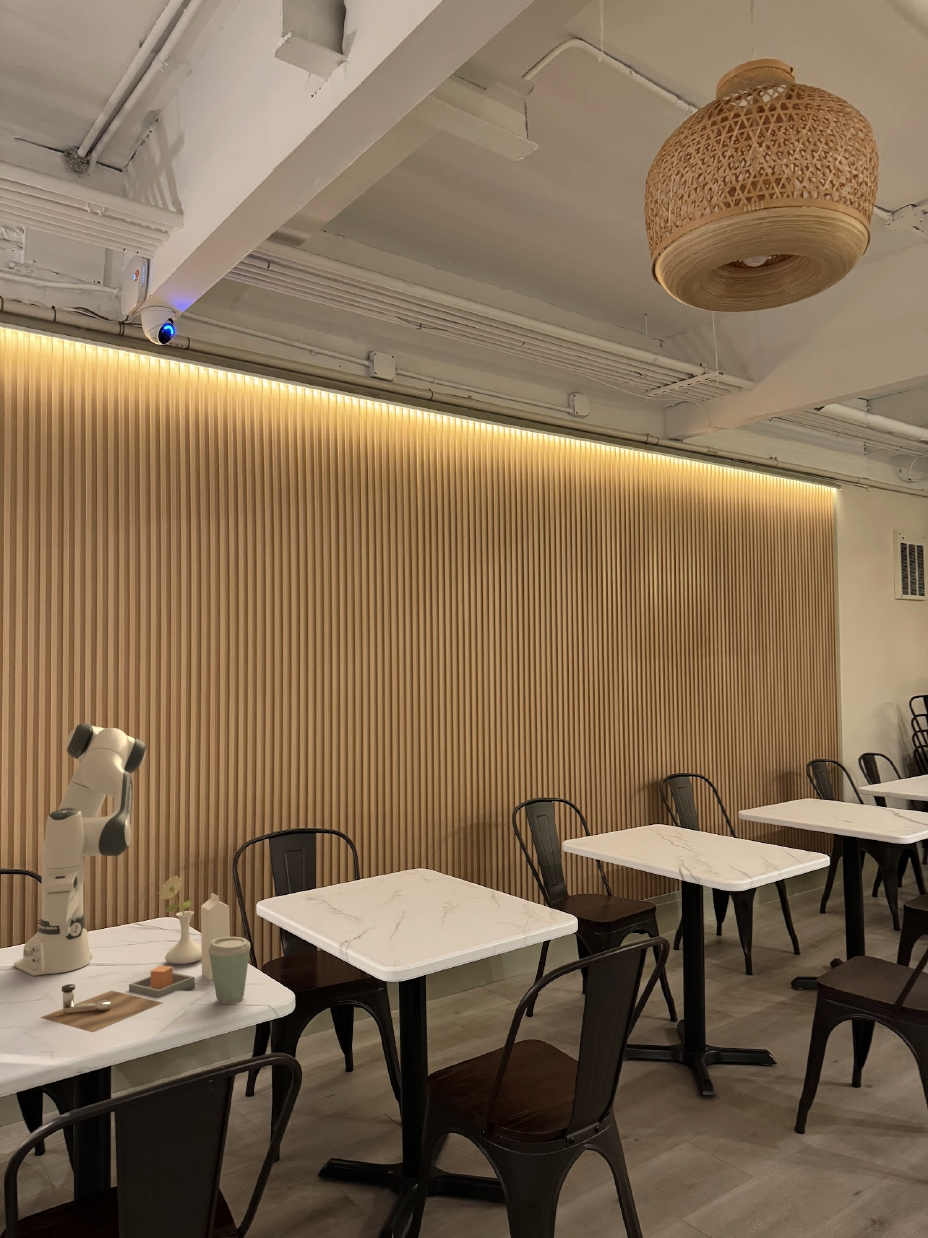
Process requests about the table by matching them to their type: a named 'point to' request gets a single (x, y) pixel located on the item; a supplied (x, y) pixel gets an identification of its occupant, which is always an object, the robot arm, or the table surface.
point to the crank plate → (97, 1020)
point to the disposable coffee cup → (229, 967)
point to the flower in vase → (185, 947)
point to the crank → (71, 1007)
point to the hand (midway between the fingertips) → (65, 935)
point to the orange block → (161, 977)
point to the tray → (179, 984)
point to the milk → (212, 929)
